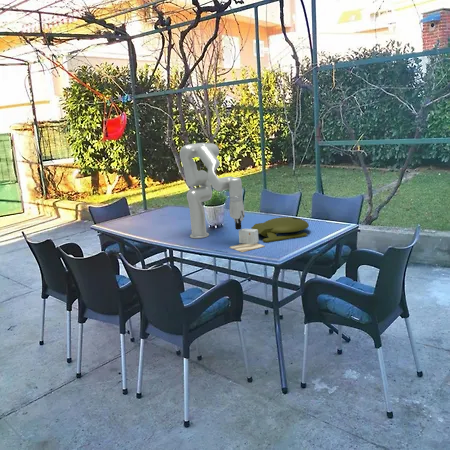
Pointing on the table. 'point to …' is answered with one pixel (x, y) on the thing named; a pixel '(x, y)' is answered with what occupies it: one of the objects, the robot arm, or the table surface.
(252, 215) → the table surface
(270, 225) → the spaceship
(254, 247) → the board
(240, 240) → the small box
